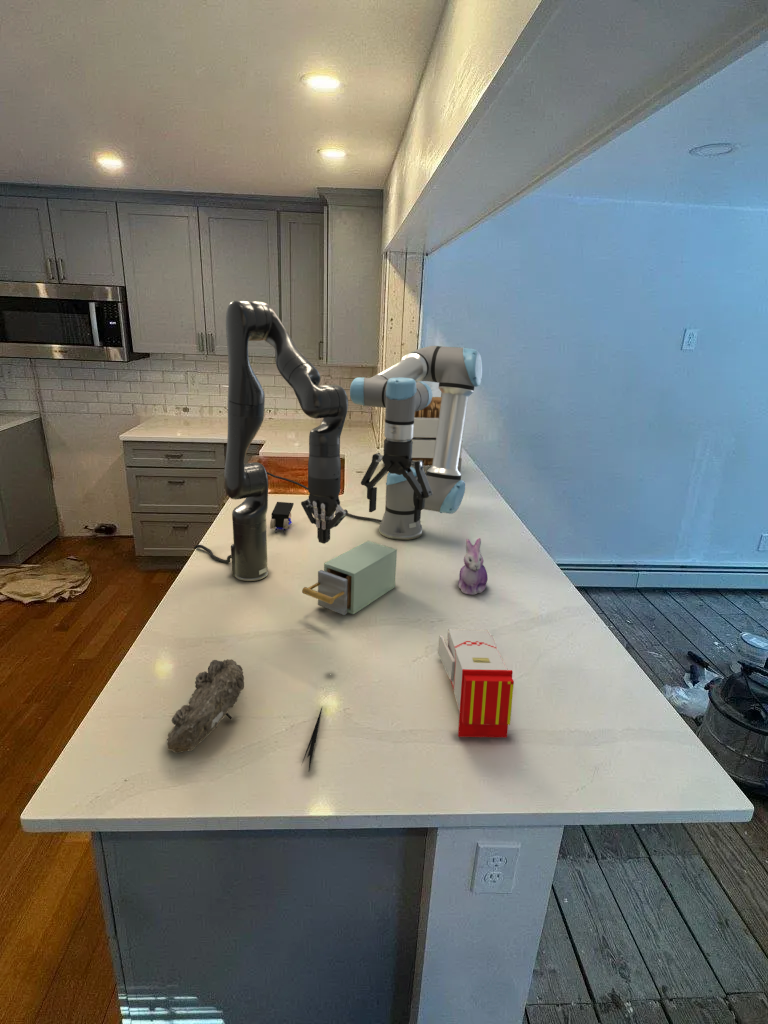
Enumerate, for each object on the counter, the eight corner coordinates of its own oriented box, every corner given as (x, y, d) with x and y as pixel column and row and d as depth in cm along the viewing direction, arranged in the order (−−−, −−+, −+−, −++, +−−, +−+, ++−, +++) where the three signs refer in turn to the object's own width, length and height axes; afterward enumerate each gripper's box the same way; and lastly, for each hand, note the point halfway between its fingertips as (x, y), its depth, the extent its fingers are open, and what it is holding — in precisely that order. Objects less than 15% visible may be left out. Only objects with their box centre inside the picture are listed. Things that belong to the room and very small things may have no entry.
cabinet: (353, 614, 146) (354, 573, 142) (323, 602, 151) (323, 563, 147) (394, 587, 162) (397, 549, 158) (366, 577, 167) (368, 540, 163)
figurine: (469, 599, 156) (474, 549, 151) (448, 583, 165) (453, 535, 160) (496, 592, 161) (502, 544, 156) (475, 577, 169) (480, 531, 164)
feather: (331, 679, 122) (336, 673, 122) (307, 777, 96) (313, 769, 95) (324, 675, 122) (329, 669, 121) (298, 772, 95) (304, 764, 95)
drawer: (329, 625, 139) (329, 589, 136) (302, 613, 144) (302, 579, 140) (385, 589, 158) (386, 557, 155) (359, 579, 163) (360, 548, 159)
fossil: (192, 660, 117) (244, 628, 112) (224, 691, 120) (276, 661, 115) (142, 746, 98) (202, 712, 93) (182, 779, 101) (242, 748, 96)
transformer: (382, 463, 289) (386, 382, 275) (445, 464, 293) (451, 384, 279) (390, 482, 257) (394, 392, 243) (460, 483, 261) (468, 394, 247)
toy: (488, 613, 130) (523, 677, 101) (484, 667, 133) (517, 744, 104) (435, 612, 130) (455, 676, 101) (432, 666, 133) (451, 743, 103)
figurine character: (289, 539, 194) (294, 519, 208) (288, 519, 191) (294, 500, 204) (269, 538, 194) (276, 518, 208) (268, 518, 191) (275, 499, 204)
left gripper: (291, 470, 131) (292, 539, 137) (336, 482, 125) (335, 554, 130) (313, 464, 137) (313, 531, 143) (357, 475, 131) (355, 544, 136)
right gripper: (349, 434, 150) (348, 510, 157) (437, 448, 139) (431, 529, 146) (363, 430, 156) (361, 503, 163) (448, 443, 145) (441, 520, 152)
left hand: (323, 542), depth 137 cm, fingers closed
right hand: (394, 515), depth 155 cm, fingers open, 13 cm apart
